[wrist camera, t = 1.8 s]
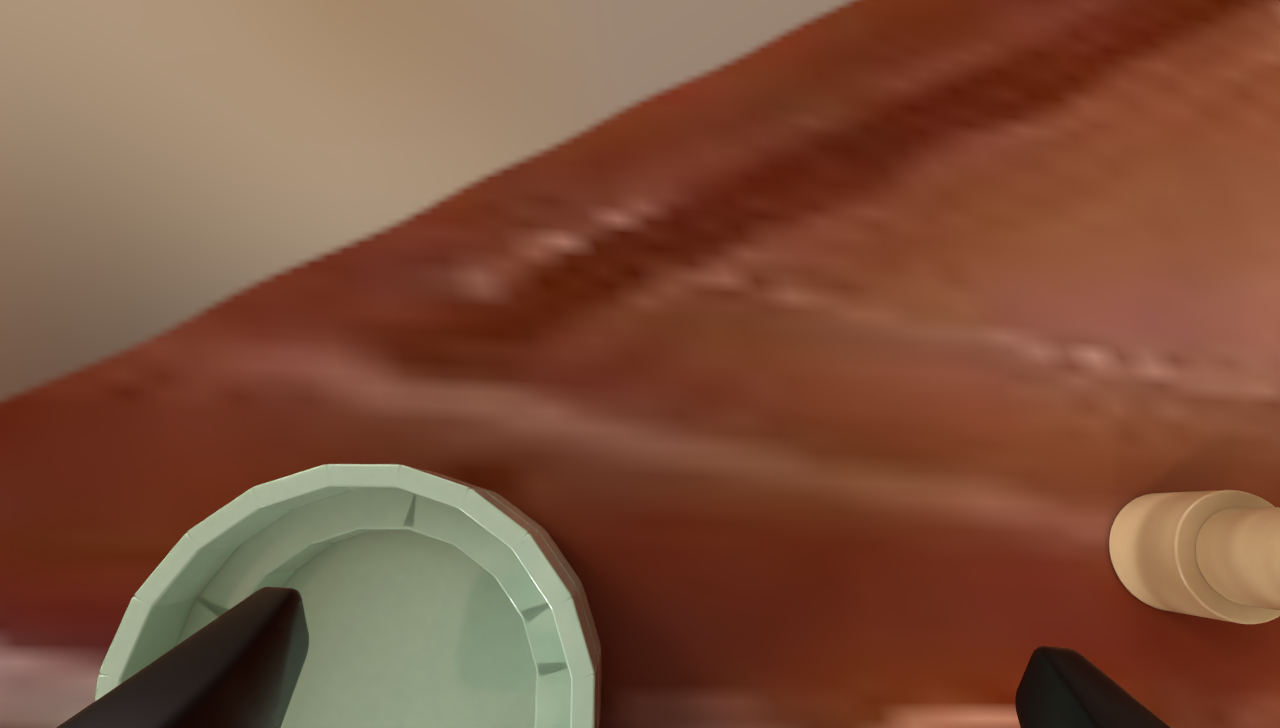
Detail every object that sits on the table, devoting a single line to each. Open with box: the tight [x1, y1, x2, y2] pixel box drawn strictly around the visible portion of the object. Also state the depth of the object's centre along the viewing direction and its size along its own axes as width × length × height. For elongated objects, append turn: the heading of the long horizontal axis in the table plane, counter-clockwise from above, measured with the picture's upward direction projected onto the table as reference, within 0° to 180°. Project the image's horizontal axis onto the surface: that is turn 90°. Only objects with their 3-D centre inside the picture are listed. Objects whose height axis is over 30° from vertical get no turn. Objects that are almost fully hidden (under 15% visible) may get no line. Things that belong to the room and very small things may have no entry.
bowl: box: [94, 464, 602, 728], centre depth 20 cm, size 12×12×4 cm
